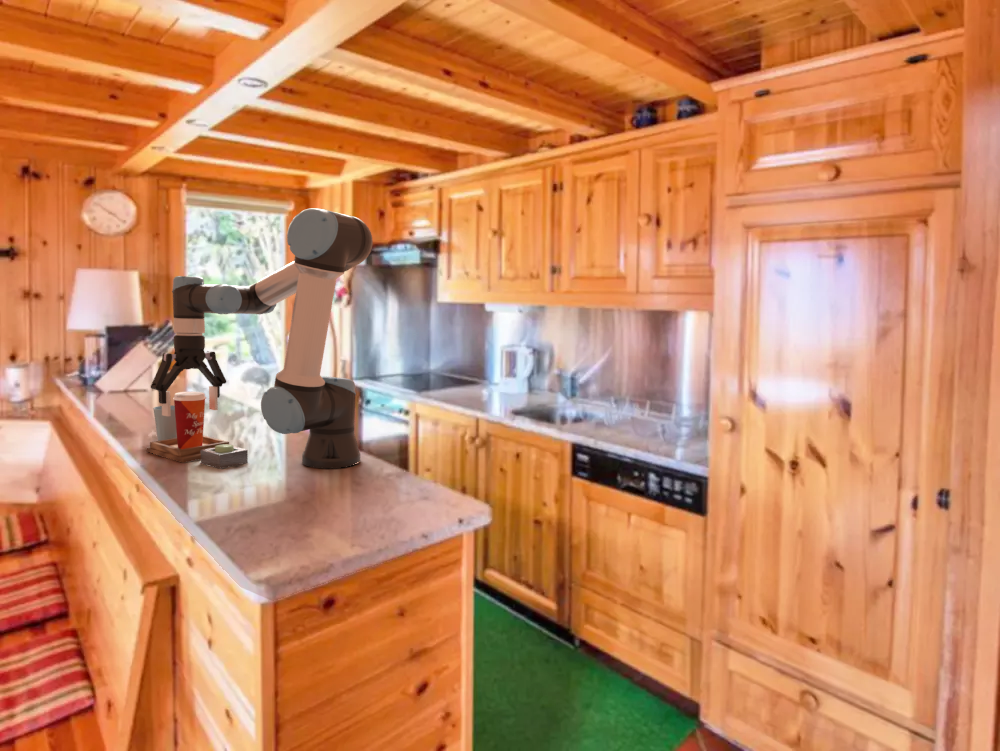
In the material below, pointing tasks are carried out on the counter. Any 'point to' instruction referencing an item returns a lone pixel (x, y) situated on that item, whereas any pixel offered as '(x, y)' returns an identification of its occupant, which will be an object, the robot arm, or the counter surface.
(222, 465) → the button housing
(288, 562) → the counter surface
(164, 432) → the cup
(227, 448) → the button
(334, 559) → the counter surface
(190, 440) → the coffee cup
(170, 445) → the wooden tray
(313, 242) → the robot arm
